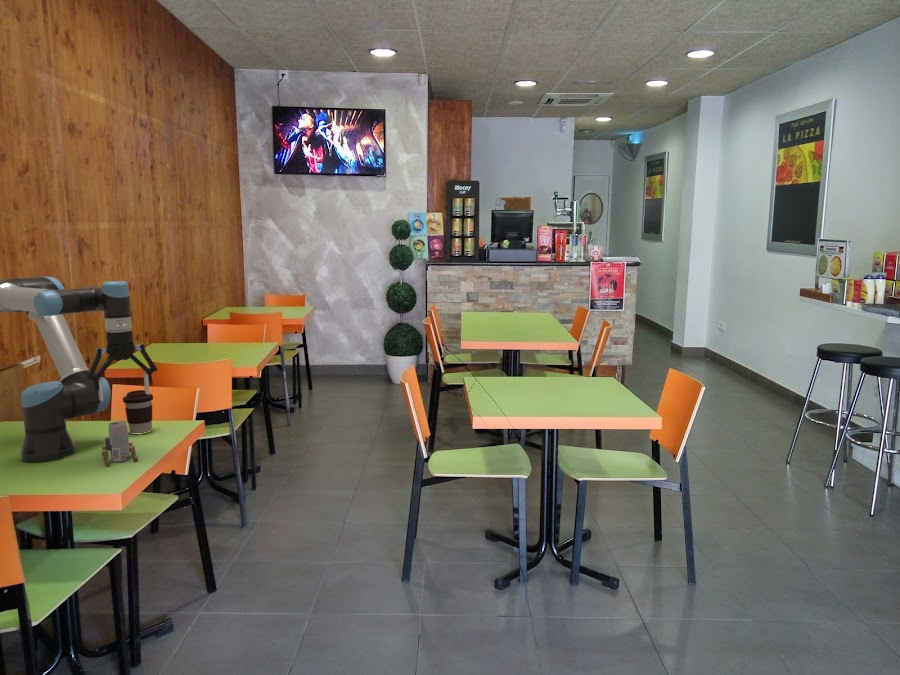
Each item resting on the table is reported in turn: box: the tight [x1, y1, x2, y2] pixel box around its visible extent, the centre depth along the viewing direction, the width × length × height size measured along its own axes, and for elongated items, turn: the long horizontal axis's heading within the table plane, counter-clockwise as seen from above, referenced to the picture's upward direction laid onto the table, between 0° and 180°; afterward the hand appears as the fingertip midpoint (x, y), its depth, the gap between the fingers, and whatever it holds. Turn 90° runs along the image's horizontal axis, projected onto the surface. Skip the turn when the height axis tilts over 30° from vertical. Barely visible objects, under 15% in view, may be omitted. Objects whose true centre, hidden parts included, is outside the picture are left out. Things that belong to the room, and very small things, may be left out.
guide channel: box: [101, 442, 139, 468], centre depth 224 cm, size 10×20×1 cm, turn 29°
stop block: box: [104, 436, 111, 451], centre depth 233 cm, size 7×2×4 cm, turn 119°
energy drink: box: [108, 420, 131, 464], centre depth 219 cm, size 5×5×12 cm
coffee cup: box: [122, 389, 154, 433], centre depth 251 cm, size 10×10×15 cm
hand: (124, 397), depth 222 cm, fingers open, 13 cm apart
